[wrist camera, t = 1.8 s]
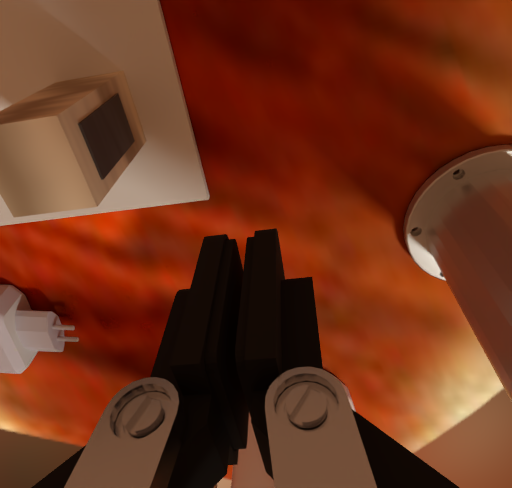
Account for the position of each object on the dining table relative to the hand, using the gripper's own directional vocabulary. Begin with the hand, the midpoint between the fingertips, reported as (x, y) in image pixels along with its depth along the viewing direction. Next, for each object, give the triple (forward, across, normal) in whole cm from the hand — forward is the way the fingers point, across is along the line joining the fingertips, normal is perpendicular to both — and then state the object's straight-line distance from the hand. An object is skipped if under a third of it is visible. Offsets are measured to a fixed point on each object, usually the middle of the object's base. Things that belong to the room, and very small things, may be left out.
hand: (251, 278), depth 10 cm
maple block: (+20, +12, 0) cm, 24 cm away
